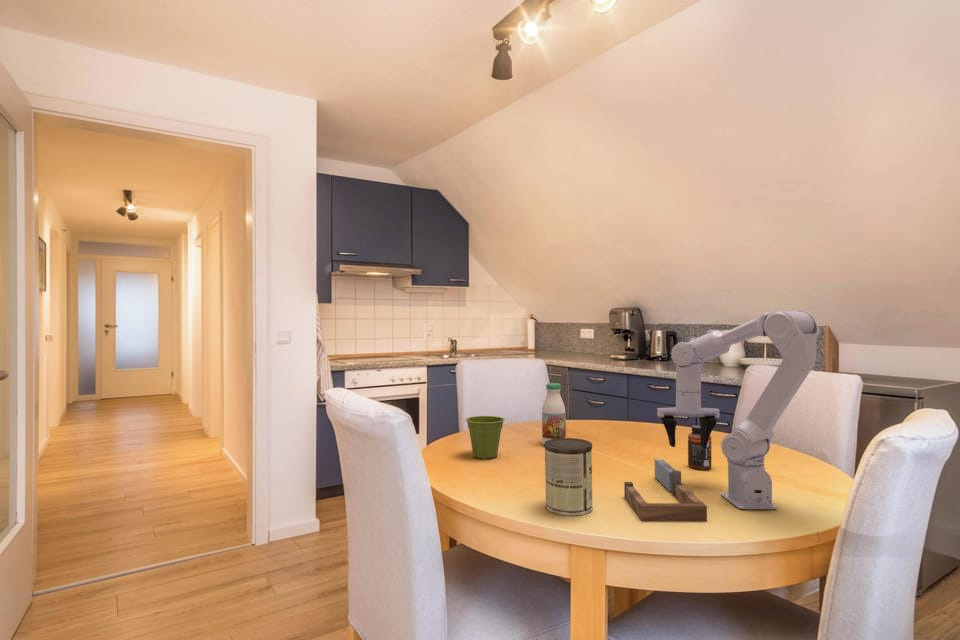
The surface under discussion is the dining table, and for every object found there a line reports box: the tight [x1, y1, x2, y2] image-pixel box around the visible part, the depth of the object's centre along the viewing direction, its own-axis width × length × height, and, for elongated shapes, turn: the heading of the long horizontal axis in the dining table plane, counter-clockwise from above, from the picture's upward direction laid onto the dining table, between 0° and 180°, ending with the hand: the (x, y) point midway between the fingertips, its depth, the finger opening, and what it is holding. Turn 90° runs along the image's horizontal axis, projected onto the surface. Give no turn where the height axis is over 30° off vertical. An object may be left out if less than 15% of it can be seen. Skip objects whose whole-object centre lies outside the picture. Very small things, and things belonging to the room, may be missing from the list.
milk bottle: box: [541, 382, 567, 446], centre depth 173 cm, size 8×8×20 cm
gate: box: [654, 458, 676, 492], centre depth 131 cm, size 12×2×4 cm, turn 178°
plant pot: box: [464, 415, 506, 460], centre depth 160 cm, size 12×12×11 cm
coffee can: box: [543, 437, 594, 517], centre depth 116 cm, size 10×10×14 cm
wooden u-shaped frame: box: [623, 469, 708, 522], centre depth 116 cm, size 17×13×6 cm
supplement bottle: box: [687, 424, 712, 471], centre depth 146 cm, size 6×6×11 cm
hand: (687, 446), depth 131 cm, fingers open, 7 cm apart
